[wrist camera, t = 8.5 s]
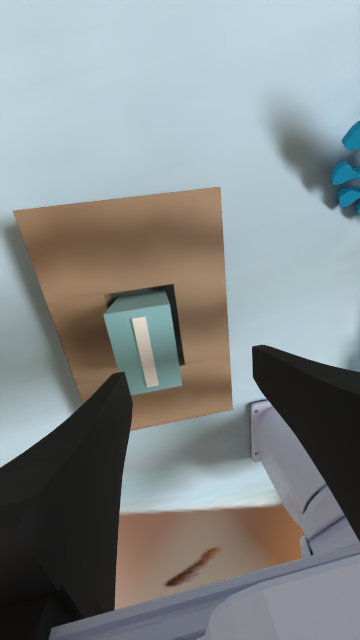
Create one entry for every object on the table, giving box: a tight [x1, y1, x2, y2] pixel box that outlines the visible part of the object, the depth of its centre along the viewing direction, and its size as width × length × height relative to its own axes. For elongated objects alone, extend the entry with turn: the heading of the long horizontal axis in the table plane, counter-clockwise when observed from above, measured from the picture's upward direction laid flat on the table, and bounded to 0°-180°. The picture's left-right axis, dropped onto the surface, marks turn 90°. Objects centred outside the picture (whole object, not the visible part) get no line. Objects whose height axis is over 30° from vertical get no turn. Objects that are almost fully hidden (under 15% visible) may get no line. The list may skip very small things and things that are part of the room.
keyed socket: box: [13, 187, 233, 431], centre depth 18 cm, size 20×14×2 cm
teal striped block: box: [103, 289, 182, 395], centre depth 16 cm, size 6×4×6 cm, turn 8°
